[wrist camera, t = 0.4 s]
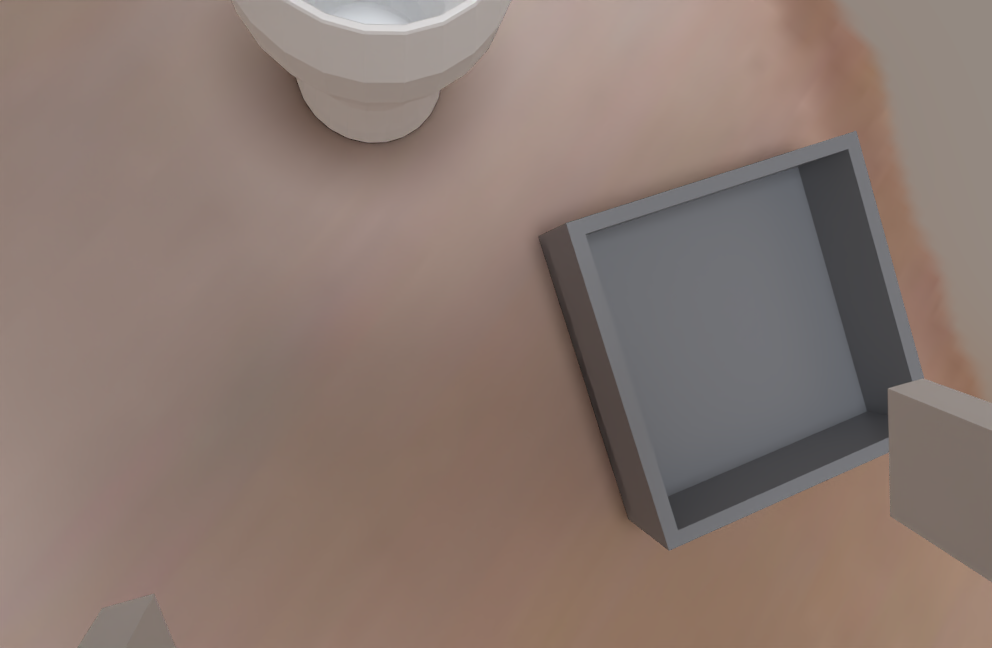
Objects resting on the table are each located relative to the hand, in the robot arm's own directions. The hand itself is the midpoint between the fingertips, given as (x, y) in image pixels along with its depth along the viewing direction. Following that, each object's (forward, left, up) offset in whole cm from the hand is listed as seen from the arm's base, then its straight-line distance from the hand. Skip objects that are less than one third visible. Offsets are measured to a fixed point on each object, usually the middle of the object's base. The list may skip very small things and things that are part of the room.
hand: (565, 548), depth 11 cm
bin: (+3, +17, -24) cm, 30 cm away
